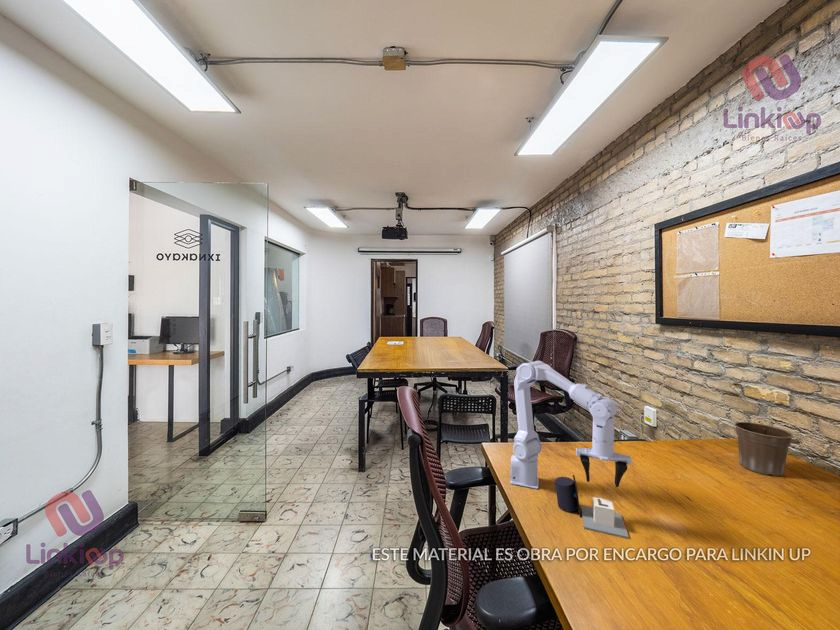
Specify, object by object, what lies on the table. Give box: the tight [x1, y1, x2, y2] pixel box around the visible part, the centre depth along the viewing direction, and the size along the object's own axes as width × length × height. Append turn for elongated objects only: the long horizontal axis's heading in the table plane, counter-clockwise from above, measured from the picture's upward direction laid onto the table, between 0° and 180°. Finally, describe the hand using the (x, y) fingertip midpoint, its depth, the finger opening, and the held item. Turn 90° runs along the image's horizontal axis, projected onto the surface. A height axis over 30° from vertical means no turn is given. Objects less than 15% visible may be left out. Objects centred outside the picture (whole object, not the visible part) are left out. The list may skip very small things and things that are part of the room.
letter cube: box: [592, 496, 615, 527], centre depth 97 cm, size 5×5×5 cm
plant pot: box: [734, 421, 795, 477], centre depth 130 cm, size 16×16×16 cm
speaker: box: [554, 474, 582, 518], centre depth 104 cm, size 8×6×10 cm
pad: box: [580, 505, 630, 539], centre depth 97 cm, size 11×11×1 cm
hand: (602, 482), depth 100 cm, fingers open, 7 cm apart
